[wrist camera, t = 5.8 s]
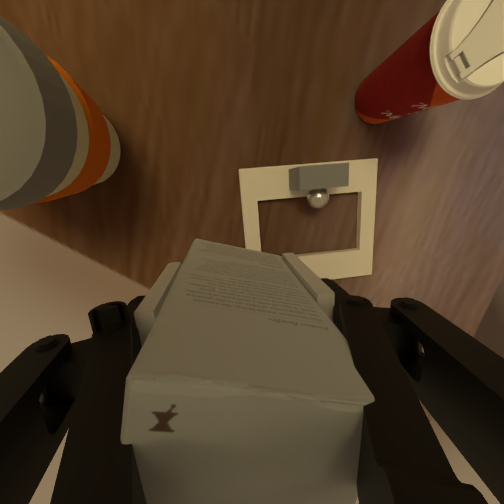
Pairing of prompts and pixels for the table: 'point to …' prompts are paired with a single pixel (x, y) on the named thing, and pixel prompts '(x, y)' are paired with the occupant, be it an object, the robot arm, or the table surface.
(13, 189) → the reusable coffee cup
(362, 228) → the socket board
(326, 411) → the skincare box
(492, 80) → the paper cup
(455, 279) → the table surface
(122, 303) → the robot arm
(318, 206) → the silver metal knob
